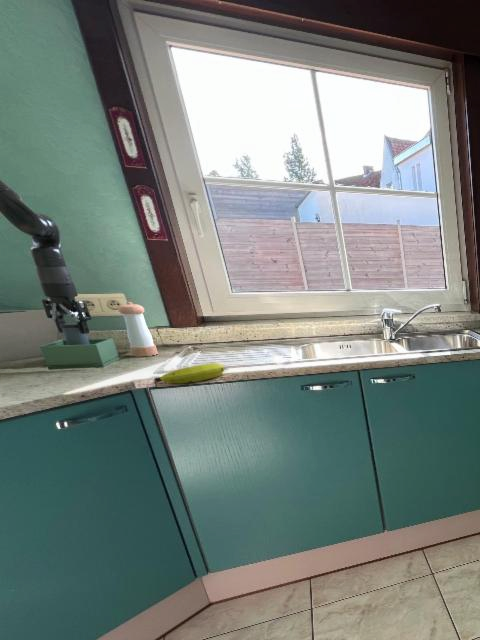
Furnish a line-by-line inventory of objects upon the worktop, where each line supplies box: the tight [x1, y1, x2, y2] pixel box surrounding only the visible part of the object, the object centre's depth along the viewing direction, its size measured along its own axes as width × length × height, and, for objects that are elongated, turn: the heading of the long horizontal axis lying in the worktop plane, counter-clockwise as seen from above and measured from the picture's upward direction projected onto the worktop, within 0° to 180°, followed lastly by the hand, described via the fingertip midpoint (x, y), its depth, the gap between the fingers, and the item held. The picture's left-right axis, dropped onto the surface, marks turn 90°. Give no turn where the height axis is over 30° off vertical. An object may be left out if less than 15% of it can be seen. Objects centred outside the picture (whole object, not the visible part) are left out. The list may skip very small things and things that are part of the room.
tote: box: [39, 337, 121, 371], centre depth 165 cm, size 14×14×8 cm
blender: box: [60, 322, 90, 345], centre depth 164 cm, size 6×6×13 cm
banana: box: [153, 362, 226, 384], centre depth 154 cm, size 5×17×15 cm
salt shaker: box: [118, 301, 159, 358], centre depth 179 cm, size 7×7×19 cm
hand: (74, 332), depth 162 cm, fingers open, 8 cm apart
